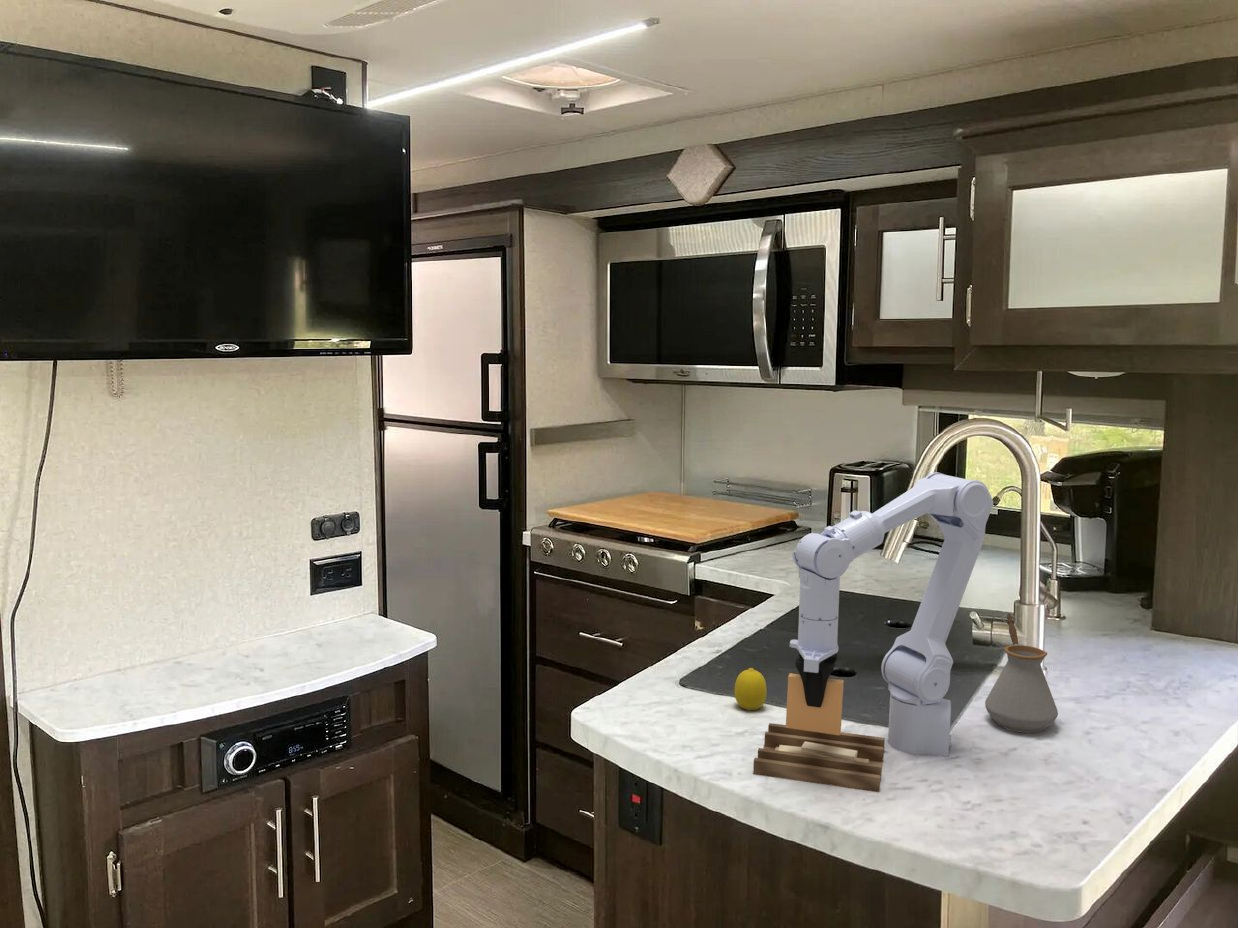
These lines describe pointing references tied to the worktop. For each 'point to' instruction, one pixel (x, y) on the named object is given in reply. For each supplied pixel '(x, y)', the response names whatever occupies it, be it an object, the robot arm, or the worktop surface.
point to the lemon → (750, 689)
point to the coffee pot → (1022, 690)
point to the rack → (821, 759)
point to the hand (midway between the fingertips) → (815, 703)
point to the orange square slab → (814, 717)
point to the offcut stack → (823, 751)
